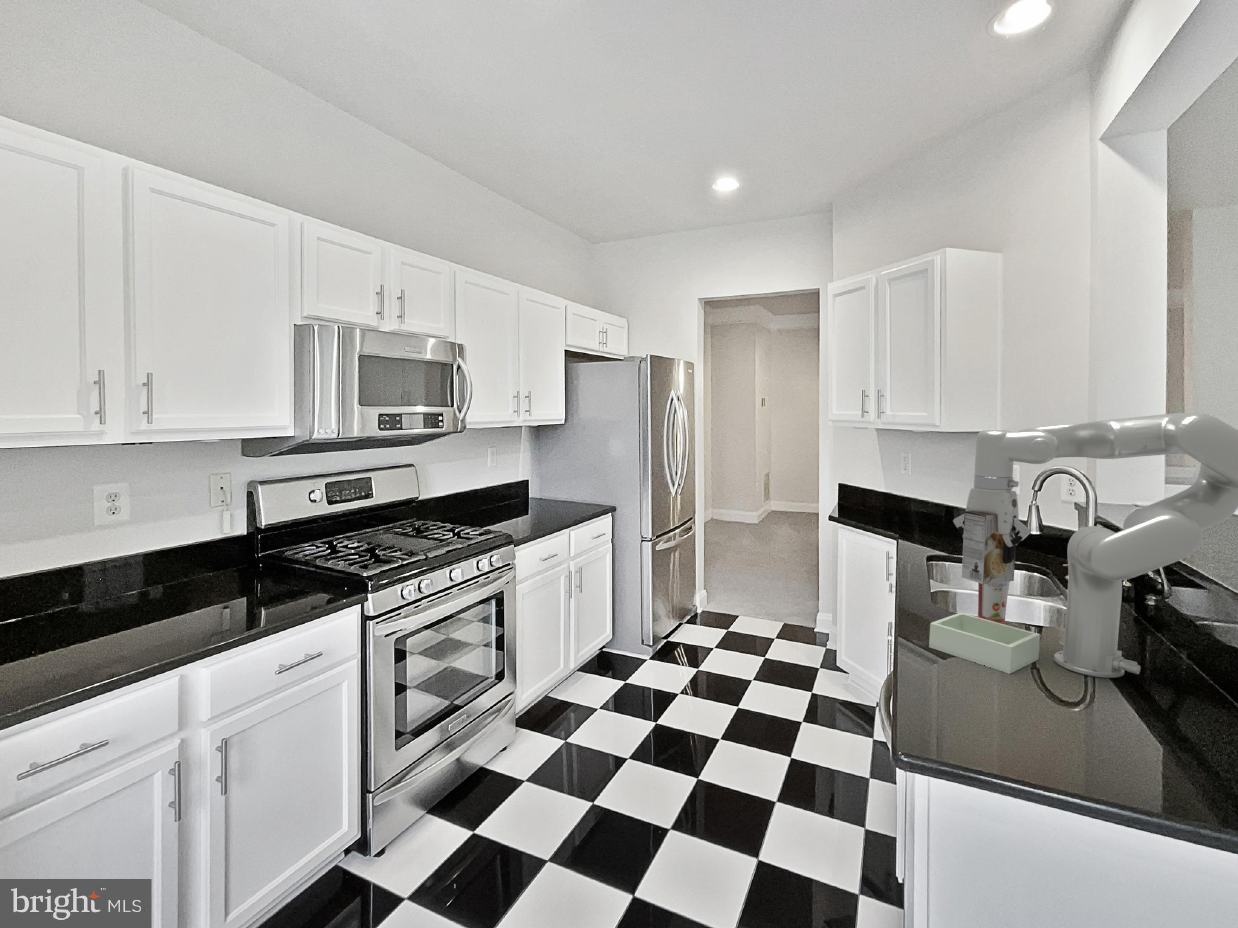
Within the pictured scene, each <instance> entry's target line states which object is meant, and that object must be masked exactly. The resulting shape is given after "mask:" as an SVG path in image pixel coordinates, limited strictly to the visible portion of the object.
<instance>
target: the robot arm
mask: <svg viewBox="0 0 1238 928" xmlns="http://www.w3.org/2000/svg"><path fill="white" fill-rule="evenodd" d="M975 441H976V444H975V460H974V475H973V476H974V480H973V487H971V488H970V491H969V494H968V497H967V501H966V502H967V503H966V507H965V511H976V512H984V513H990V514H997V515H998V534H1000V535H1002V537H1003V539H1004V541H1005V543H1006V546H1004V549H1003V563H1004V564H1008V563H1011V562H1012V560H1014V556H1015V557H1016V548H1015V545H1016V546H1018V544H1020V543H1021V542H1023V541H1024V540H1025V539H1026V538H1027V537H1028V536H1029V535H1031V533H1032V531H1031V529H1030V528H1029V527H1027V525H1025V524H1024V523H1023V522H1021V521H1020V520H1019V517H1020V516H1019V514H1020V513H1019V504H1018V503H1019V501H1018V496H1017V491H1016V490H1013V489H1014V488H1019V483H1020V482H1019V481H1018V480H1014V477H1013V476H1014V462H1016V463H1017V462H1018V463H1025V464H1031V465H1041V464H1046V463H1049V462H1050V461H1053V460H1054V459H1059V458H1086V459H1088V458H1090V459H1099V460H1115V459H1116V460H1117V459H1118V460H1119V459H1129V458H1138V457H1151V456H1164V455H1166V456H1167V455H1177V454H1178V455H1179V454H1181V455H1186V456H1187V455H1188V456H1189V457H1191V458H1193V459H1194V460H1195V461H1197V462H1198V463H1200V467H1199V473H1198V475H1197V478H1196V480H1195V481H1194V482H1193V484H1192V485H1191V486H1189V487H1188V488H1186V489H1183V490H1182V491H1180V492H1178V493H1175V494H1174V495H1172V496H1169V497H1166V498H1164V499H1162V500H1161V499H1160V500H1159V501H1155V502H1154V503H1151V504H1149V505H1146V506H1143V507H1141V508H1138V509H1135V510H1134V511H1132V512H1131V513H1129V514H1128V515H1127V516H1126V518H1125V519H1124V521H1123V525H1122V528H1123V529H1122V530H1120V531H1117V532H1115V531H1113V530H1111V529H1108V527H1107V528H1106V527H1103V526H1099V525H1095V526H1094V525H1090V526H1084V527H1082V528H1080V529H1077V531H1075V532H1074V533H1073V534H1072V535H1071V537H1070V539H1069V540H1068V543H1067V553H1066V554H1067V565H1068V566H1067V568H1068V569H1067V570H1068V571H1067V573H1068V579H1067V581H1068V583H1067V592H1066V593H1067V594H1066V595H1067V597H1066V607H1065V608H1066V609H1065V621H1064V622H1065V623H1064V633H1063V635H1064V636H1063V647H1062V648H1063V650H1059V651H1057V652H1055V653H1054V655H1053V660H1054V662H1055V663H1056V664H1058V665H1059V666H1061V667H1063V668H1064V669H1067V670H1069V671H1072V672H1074V673H1077V674H1082V675H1085V676H1089V677H1090V676H1091V677H1096V678H1106V679H1107V678H1109V679H1112V678H1113V679H1114V678H1120V677H1123V676H1124V675H1125V673H1126V672H1125V671H1127V672H1128V673H1132V674H1135V675H1139V674H1140V672H1141V665H1139V664H1138V662H1137V661H1133V660H1130V659H1129V660H1128V659H1125V657H1123V656H1122V654H1123V651H1122V650H1118V642H1119V630H1120V629H1119V628H1120V619H1121V618H1120V617H1121V606H1122V597H1123V582H1122V581H1126V580H1130V579H1133V578H1137V577H1139V576H1141V575H1145V574H1147V573H1150V572H1152V571H1155V570H1158V569H1161V568H1164V567H1166V566H1169V565H1171V564H1174V563H1177V562H1179V561H1182V560H1183V559H1186V558H1188V557H1189V556H1191V555H1192V554H1193V553H1194V552H1195V551H1197V549H1198V548H1200V545H1201V543H1202V540H1203V531H1205V530H1208V529H1209V528H1212V527H1214V526H1217V525H1218V524H1219V525H1220V523H1222V522H1224V521H1226V520H1227V519H1229V518H1231V517H1232V516H1233V514H1235V513H1236V511H1237V510H1238V429H1237V428H1235V427H1233V426H1232V425H1230V424H1228V423H1227V422H1225V421H1223V420H1221V419H1219V418H1217V417H1215V416H1213V415H1210V414H1206V413H1197V412H1196V413H1195V412H1174V413H1165V414H1156V415H1155V414H1154V415H1145V416H1135V417H1125V418H1114V419H1104V420H1097V421H1095V420H1094V421H1088V422H1082V423H1073V424H1064V425H1061V424H1060V425H1053V426H1042V427H1032V428H1030V427H1029V428H1025V429H1024V428H1023V429H1021V430H1018V431H1015V432H1014V431H1013V432H1012V431H1011V430H1002V429H1001V430H1000V429H998V430H997V429H985V430H984V429H983V430H980V431H979V432H978V433H977V435H976V440H975ZM964 514H965V512H964V513H963V514H961V515H959V516H956V518H954V519H953V520H952V522H953V524H954V525H955V527H956V528H957V531H958V533H959V534H960V535H961V536H962V538H963V537H964ZM1012 525H1014V526H1015V531H1014V530H1011V529H1012ZM1012 531H1014V532H1013V533H1016V534H1017V532H1018V531H1019V533H1018V535H1016V537H1015V536H1014V534H1013V533H1012Z"/></svg>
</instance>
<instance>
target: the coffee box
mask: <svg viewBox="0 0 1238 928" xmlns="http://www.w3.org/2000/svg"><path fill="white" fill-rule="evenodd" d="M964 513H965V514H964ZM964 513H963V514H964V521H963V524H964V537H962V538H963V539H962V540H963V543H962V562H961V578H963V579H966V580H968V581H971V582H972V581H973V582H975V583H977V584H978V583H981V584H990V583H999V582H1008V581H1010V582H1014V580H1015V563H1016V562H1015V561H1016V555H1015V556H1014V560H1012V562H1011V563H1008V564H1004V563H1003V549H1004V546H1006V543H1005V541H1004V539H1003V537H1002V535H1000V534H998V515H997V514H990V513H984V512H976V511H966V510H965V511H964ZM1011 530H1014V531H1015V526H1014V525H1012V529H1011ZM1014 531H1012V533H1013V532H1014ZM1013 534H1014V536H1015V537H1016V536H1017V532H1016V533H1013ZM1016 546H1017V545H1015V549H1016Z"/></svg>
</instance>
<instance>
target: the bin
mask: <svg viewBox="0 0 1238 928" xmlns="http://www.w3.org/2000/svg"><path fill="white" fill-rule="evenodd" d="M928 639H929V640H928V641H929V642H928V648H930V649H933V650H936V651H939V652H942V653H945V654H948V655H951V656H954V657H957V658H960V659H963V660H967V661H969V662H971V663H975V662H976V664H978V665H981V666H984V665H985V666H984V667H986V668H990V667H991V668H990V669H993V668H994V670H996V671H999V672H1002V671H1003V673H1006V674H1008V675H1010V673H1011V674H1012V673H1015V672H1016V671H1018V670H1020V669H1022V668H1024V667H1027V666H1028V665H1030V664H1032V663H1034V662H1036V661H1038V660H1039V656H1040V643H1041V642H1040V640H1041V634H1040V633H1037V632H1033V631H1029V630H1027V629H1022V628H1020V627H1019V628H1018V627H1016V626H1012V625H1008V624H1001V623H997V622H994V621H990V620H986V619H983V618H979V617H978V616H975V615H971V614H968V613H964V612H959V613H955V614H952V615H950V616H946V617H944V618H941V619H937V620H935V621H932V622H930V624H929V638H928Z"/></svg>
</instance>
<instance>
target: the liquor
mask: <svg viewBox="0 0 1238 928" xmlns="http://www.w3.org/2000/svg"><path fill="white" fill-rule="evenodd" d="M1010 582H1011V581H1008V582H999V583H990V584H981V583H978V582H977V585H978V586H977V587H978V590H977V591H978V596H977V597H978V598H977V599H978V600H977V602H978V603H977V604H978V605H977V608H978V609H977V617H979V618H983V619H986V620H990V621H994V622H997V623H1001V624H1005V623H1006V613H1007V604H1008V596H1009V595H1008V594H1009V590H1010V589H1009V587H1010ZM1005 625H1006V624H1005Z"/></svg>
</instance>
